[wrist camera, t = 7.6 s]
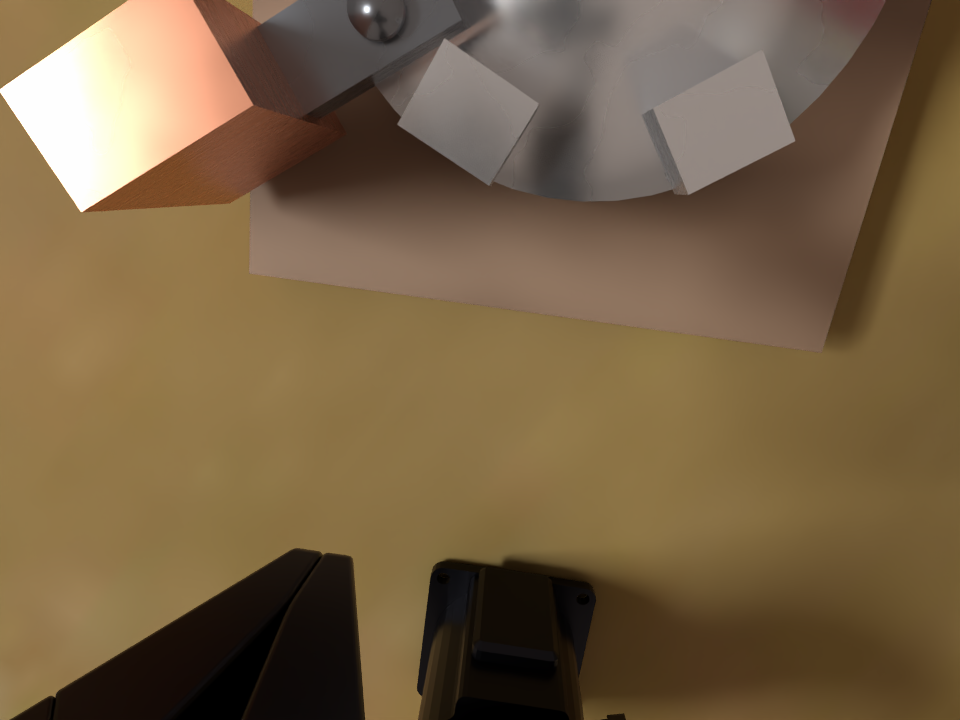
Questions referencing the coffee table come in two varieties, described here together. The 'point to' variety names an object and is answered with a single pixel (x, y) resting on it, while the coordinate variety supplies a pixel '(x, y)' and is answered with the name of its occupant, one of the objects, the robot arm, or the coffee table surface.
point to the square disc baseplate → (600, 219)
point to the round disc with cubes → (433, 91)
